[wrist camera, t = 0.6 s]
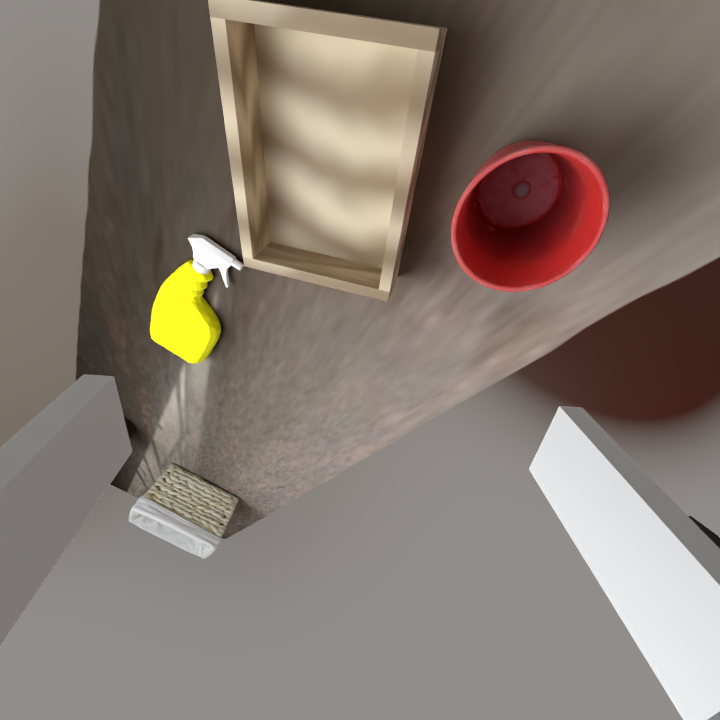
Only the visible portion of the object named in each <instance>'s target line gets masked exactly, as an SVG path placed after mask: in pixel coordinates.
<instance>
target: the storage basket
mask: <svg viewBox="0 0 720 720" xmlns="http://www.w3.org/2000/svg"><path fill="white" fill-rule="evenodd" d="M238 501H239V499H238V498H237V497H235V496H233V495H232V494H230V493H228V492H226V491H224V490H222V489H220V488H218V487H217V486H214V485H212V484H210V483H209V482H207V481H205V480H204V479H202V478H201V477H199V476H197V475H195V474H192V473H189V472H188V471H186V470H184V469H183V468H180V467H178V466H177V465H175V464H171V465H170V466H169V468H168V469H167V470H166V471H165V472H164V473H163V475H161V477H160V478H159V479H158V480H157V481H156V482H155V483H154V484H153V485H152V487H151V488H150V489H149V490H148V491H147V493H145V494H144V495H143V496H141V497H140V498H139V499H138V501H137V502H136V504H135V505H134V506H133V507H132V509H131V511H130V515H129V522H131V523H133V524H135V525H137V526H138V527H140V528H141V529H143V530H146V531H147V532H150V533H151V534H153V535H155V536H157V537H159V538H161V539H164V540H166V541H168V542H170V543H172V544H174V545H176V546H178V547H180V548H181V549H183V550H185V551H188V552H190V553H192V554H194V555H197V556H199V557H202V558H203V559H204V558H206V557H208V556H210V555H211V554H212V553H213V552H214V551H215V550H216V549H217V547H218V546H219V544H220V543H221V541H222V539H221V537H222V534H223V533H224V531H225V528H226V526H227V524H228V522H229V520H230V518H231V516H232V514H233V512H234V510H235V507H236V505H237V503H238Z"/></svg>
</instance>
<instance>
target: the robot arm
mask: <svg viewBox="0 0 720 720" xmlns="http://www.w3.org/2000/svg"><path fill="white" fill-rule="evenodd" d="M131 453H132V448H131V444H130V440H129V436H128V432H127V428H126V424H125V420H124V415H123V411H122V407H121V403H120V399H119V395H118V391H117V387H116V383H115V379H114V376H100V375H85V374H84V375H82V376H81V377H80V378H79V379H78V380H77V381H76V382H74V383H73V384H72V385H71V386H70V387H69V388H68V389H66V390H65V391H64V392H63V393H62V394H61V395H60V396H59V397H57V398H56V399H55V400H54V401H53V402H52V403H51V404H50V405H48V406H47V407H46V408H45V409H44V410H43V411H42V412H40V413H39V414H38V415H37V416H36V417H35V418H33V419H32V420H31V421H30V422H29V423H28V424H27V425H25V426H24V427H23V428H22V429H21V430H20V431H19V432H17V433H16V434H15V435H14V436H13V437H12V438H11V439H9V440H8V441H7V442H6V443H5V444H4V445H3V446H1V447H0V645H1V643H2V642H3V640H4V639H5V637H6V636H7V634H8V633H9V631H10V630H11V629H12V627H13V626H14V624H15V623H16V621H17V620H18V618H19V617H20V615H21V614H22V612H23V611H24V610H25V608H26V606H27V605H28V604H29V602H30V601H31V599H32V598H33V596H34V595H35V593H36V592H37V590H38V589H39V588H40V586H41V585H42V583H43V582H44V580H45V579H46V577H47V576H48V574H49V573H50V571H51V570H52V568H53V567H54V566H55V564H56V563H57V561H58V560H59V558H60V557H61V555H62V554H63V552H64V551H65V549H66V548H67V546H68V545H69V544H70V542H71V541H72V539H73V538H74V536H75V535H76V533H77V532H78V530H79V529H80V527H81V526H82V524H83V523H84V522H85V520H86V518H87V517H88V516H89V514H90V513H91V511H92V509H93V508H94V507H95V505H96V504H97V503H98V501H99V499H100V498H101V497H102V495H103V494H104V492H105V491H106V489H107V488H108V486H109V485H110V483H111V482H112V481H113V479H114V478H115V476H116V475H117V473H118V472H119V470H120V469H121V467H122V466H123V464H124V463H125V461H126V460H127V459H128V457H129V456H130V454H131ZM529 470H530V472H531V473H532V475H533V477H534V478H535V480H536V481H537V483H538V485H539V486H540V488H541V490H542V491H543V493H544V494H545V496H546V498H547V499H548V501H549V503H550V504H551V506H552V507H553V509H554V511H555V512H556V514H557V515H558V517H559V519H560V520H561V522H562V524H563V525H564V527H565V529H566V530H567V532H568V533H569V535H570V536H571V538H572V540H573V541H574V543H575V545H576V546H577V548H578V550H579V551H580V553H581V554H582V556H583V558H584V559H585V560H586V563H587V564H588V566H589V567H590V569H591V571H592V572H593V574H594V575H595V577H596V579H597V580H598V582H599V584H600V585H601V587H602V589H603V590H604V592H605V593H606V595H607V597H608V598H609V600H610V601H611V603H612V604H613V606H614V608H615V610H616V611H617V613H618V614H619V616H620V618H621V619H622V621H623V623H624V624H625V626H626V627H627V629H628V631H629V632H630V634H631V635H632V637H633V639H634V640H635V642H636V643H637V645H638V647H639V648H640V650H641V652H642V653H643V655H644V656H645V658H646V660H647V661H648V663H649V665H650V666H651V668H652V670H653V671H654V673H655V674H656V676H657V678H658V679H659V681H660V683H661V684H662V686H663V687H664V689H665V691H666V692H667V694H668V696H669V697H670V699H671V700H672V702H673V704H674V705H675V707H676V709H677V710H678V712H679V713H680V715H681V717H682V718H683V720H720V538H719V537H718V536H717V535H716V534H714V533H713V532H711V531H710V530H709V529H708V528H706V527H705V526H704V525H702V524H701V523H699V522H698V521H697V520H695V519H694V518H693V517H691V516H687V515H686V514H685V513H684V512H683V511H682V510H681V509H680V508H679V507H678V506H677V505H676V503H674V501H673V500H672V499H671V498H670V497H669V496H667V494H666V493H665V492H664V491H663V490H662V489H661V488H660V487H659V486H658V485H657V484H656V483H655V482H654V481H653V480H652V479H651V478H650V477H649V476H648V475H647V474H646V473H645V472H644V471H643V470H642V469H641V468H640V467H639V466H638V464H637V463H635V461H634V460H632V459H631V457H630V456H629V455H628V454H627V453H626V452H625V451H624V450H623V449H622V448H621V447H620V446H619V445H618V444H617V443H616V442H615V441H614V440H613V439H612V438H611V437H610V436H609V435H608V434H607V433H606V432H605V431H604V430H603V429H602V428H601V427H600V426H599V425H598V424H597V422H596V421H595V420H594V419H593V418H591V416H590V415H589V414H588V413H587V412H586V411H585V410H584V409H583V408H581V407H565V406H559V408H558V410H557V412H556V414H555V416H554V418H553V420H552V423H551V425H550V427H549V429H548V431H547V433H546V435H545V437H544V439H543V441H542V443H541V445H540V448H539V450H538V452H537V454H536V456H535V458H534V460H533V462H532V464H531V466H530V468H529Z"/></svg>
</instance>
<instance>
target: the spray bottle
mask: <svg viewBox="0 0 720 720" xmlns="http://www.w3.org/2000/svg"><path fill="white" fill-rule="evenodd" d="M188 240H189V241H190V243H191V245H192V249H193V259H194V260H189V261H188V262H186V263H185V264H183V265H182V266H180V267H179V268H178V269H177V270H176V271H175V272H173V273H172V274H171V275H170V276H169V277H168V278H167V280H166V281H165V282H164V283H163V284H162V286H161V288H160V289H159V291H158V294H157V296H156V299H155V302H154V304H153V308H152V316H151V325H150V333H151V338H152V339H153V340H154V341H155V342H157V343H158V344H160V345H162V346H163V347H165V348H166V349H168V350H170V351H171V352H173V353H174V354H176V355H178V356H179V357H181V358H183V359H184V360H186V361H187V362H190V363H192V364H193V363H200V362H202V361H203V360H205V359H206V358H207V356H208V355H209V354H210V353H211V351H212V350H213V348H214V346H215V344H216V343H217V341H218V339H219V337H220V334H221V325H220V322H219V319H218V317H217V316H216V314H215V312H214V311H213V310H212V308H211V307H210V305H209V304H208V303H207V302H206V300H205V299H204V298H203V295H202V294H203V293H204V289H206V288H207V286H208V284H207V282H208V281H211V280H212V279H213V278H214V277H213V274H212V271H211V269H213V268H219V270H220V272H221V275H222V278H223V281H224V283H225V286H226V287H229V278H228V268H229V267H230V266H233V267H235V268H236V269H238V270H242V268H243V266H244V264H243V263H241V262H240V261H238V260H237V259H236V257H235V256H234V255H232V254H231V253H230V252H228V251H227V250H225V249H224V248H222V247H221V246H219V245H218V244H216V243H215V242H214V241H212V240H211V239H209V238H208V237H206V236H205V235H198V234H193V235H191V236H190V237H188Z"/></svg>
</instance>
